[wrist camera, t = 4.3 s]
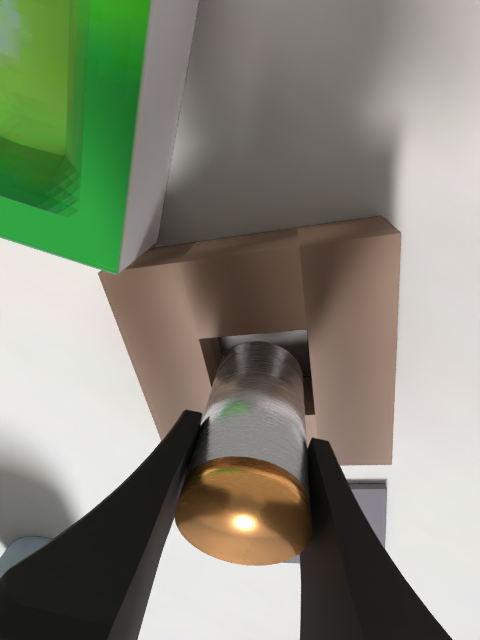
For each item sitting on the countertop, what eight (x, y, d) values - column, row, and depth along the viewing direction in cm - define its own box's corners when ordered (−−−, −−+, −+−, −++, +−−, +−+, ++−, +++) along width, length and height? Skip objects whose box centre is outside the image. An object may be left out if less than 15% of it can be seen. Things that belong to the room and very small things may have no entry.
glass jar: (313, 352, 15) (330, 500, 9) (290, 417, 17) (292, 576, 11) (224, 333, 15) (180, 466, 9) (211, 400, 17) (169, 548, 11)
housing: (381, 215, 15) (401, 233, 12) (378, 421, 20) (391, 464, 18) (126, 252, 17) (97, 273, 14) (185, 429, 22) (171, 467, 20)
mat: (385, 483, 23) (386, 489, 22) (383, 560, 27) (384, 566, 26) (251, 484, 24) (250, 489, 24) (267, 556, 28) (267, 562, 28)
